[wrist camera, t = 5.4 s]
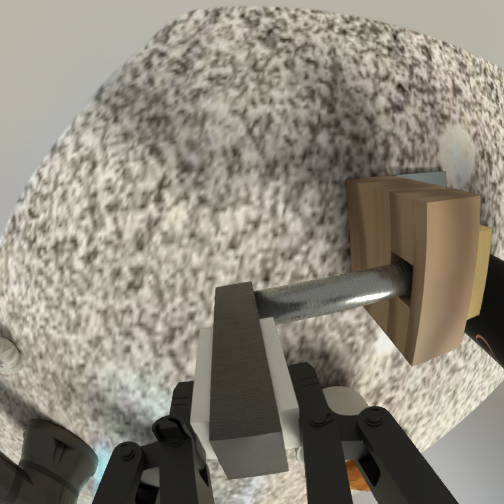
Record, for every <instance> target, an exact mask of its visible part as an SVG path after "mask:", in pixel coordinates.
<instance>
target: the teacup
mask: <svg viewBox="0 0 504 504" xmlns="http://www.w3.org/2000/svg"><path fill="white" fill-rule="evenodd" d="M322 391H323V393H324V396H325V398H326V401H327V403H328V406H329V407H330V409H331V410H332V411H333V412H335V413H337V414H340V415H359V413H360V412H361V411H362V410H364V409H365V408H368V407H369V406H368V404H367V403H366V401H365V400H364V399H363V397H362V396H361V395H360V394H359V393H358V392H356V391H355V390H353V389H351V388H348V387H343V386H333V387H327V388H322ZM294 449H295V452H296V459H297V461H298V462H299V463H300V464H301V465H303V466H305V465H304V453H303V447H302V446H301V447H297V448H294ZM346 461H348V460H345V462H346Z"/></svg>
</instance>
